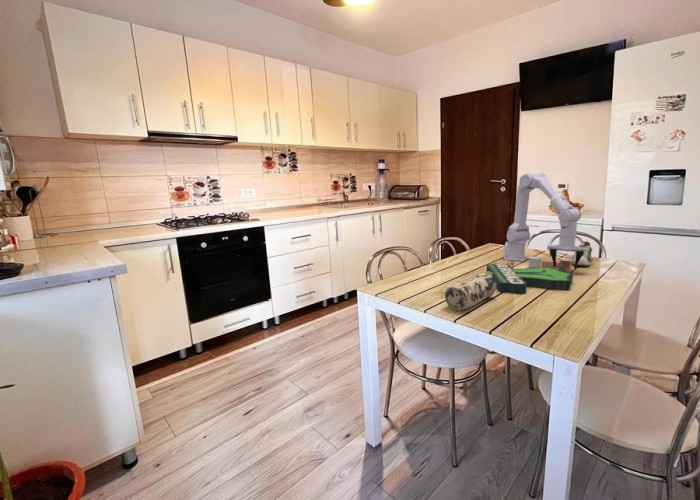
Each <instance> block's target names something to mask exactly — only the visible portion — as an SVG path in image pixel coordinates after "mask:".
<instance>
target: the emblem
mask: <svg viewBox="0 0 700 500" xmlns="http://www.w3.org/2000/svg"><path fill="white" fill-rule="evenodd" d="M487 271H489V272H492V273H493V274H492V278H493V279H494V280H495V281H496V290H497V291H498V292H499V293H502V294H503V293H504V294H511V295H525V294H526V293H527V288H533V289H542V290H543V289H544V290H549V291H570V290H571V285H572V284H573V278H574V273H571V272H570V273H567V272H563V271H559V269H558V268H551V267H542V266H541V267H534V268H529V267H525V268H513V267H512V266H511V265H510V264H508V263H507V264H505V263H487V264H486V272H487Z"/></svg>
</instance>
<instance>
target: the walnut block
mask: <svg viewBox="0 0 700 500" xmlns="http://www.w3.org/2000/svg"><path fill="white" fill-rule="evenodd" d="M571 265H572V264H571V260H562V259H561V260H560V262H559V268H558V270H559V271H563V272H567V273H571Z"/></svg>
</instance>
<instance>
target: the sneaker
mask: <svg viewBox="0 0 700 500" xmlns="http://www.w3.org/2000/svg"><path fill="white" fill-rule="evenodd" d="M577 247H584V248H587V253H583V256H582V257H581V258H580V260H579V262H578V264H577V266H583V267H587V266H588V267H589V266H590V264H591V261H590V259H591V257H592V251H593V249H592V246H591V242H589V241H582V242H581V243H580V244H578V246H577ZM570 261H571V265H572V266H575V261H576V252H574V254H573V256H572V257H571V259H570Z"/></svg>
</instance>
